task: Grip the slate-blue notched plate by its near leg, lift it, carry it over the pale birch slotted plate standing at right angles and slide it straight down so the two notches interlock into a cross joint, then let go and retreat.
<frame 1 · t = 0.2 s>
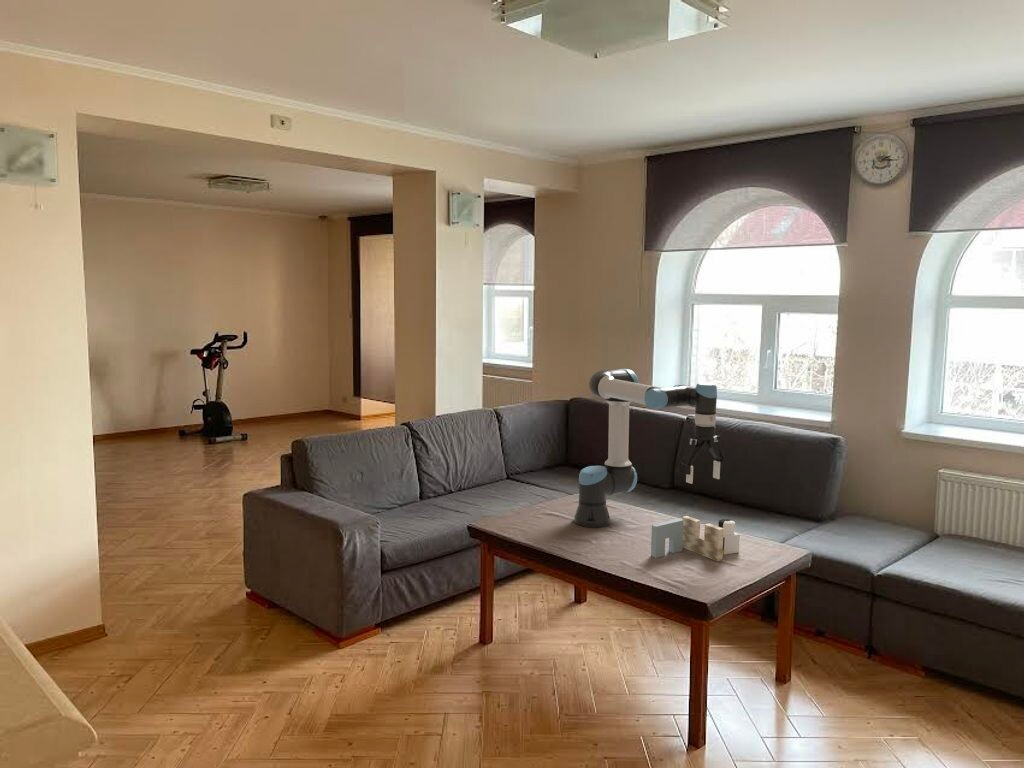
hand: (702, 480, 277), 27 cm above the table, fingers open, 13 cm apart
standing plate: (701, 553, 278), on the table
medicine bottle: (725, 551, 281), on the table
cross plate: (666, 553, 278), on the table
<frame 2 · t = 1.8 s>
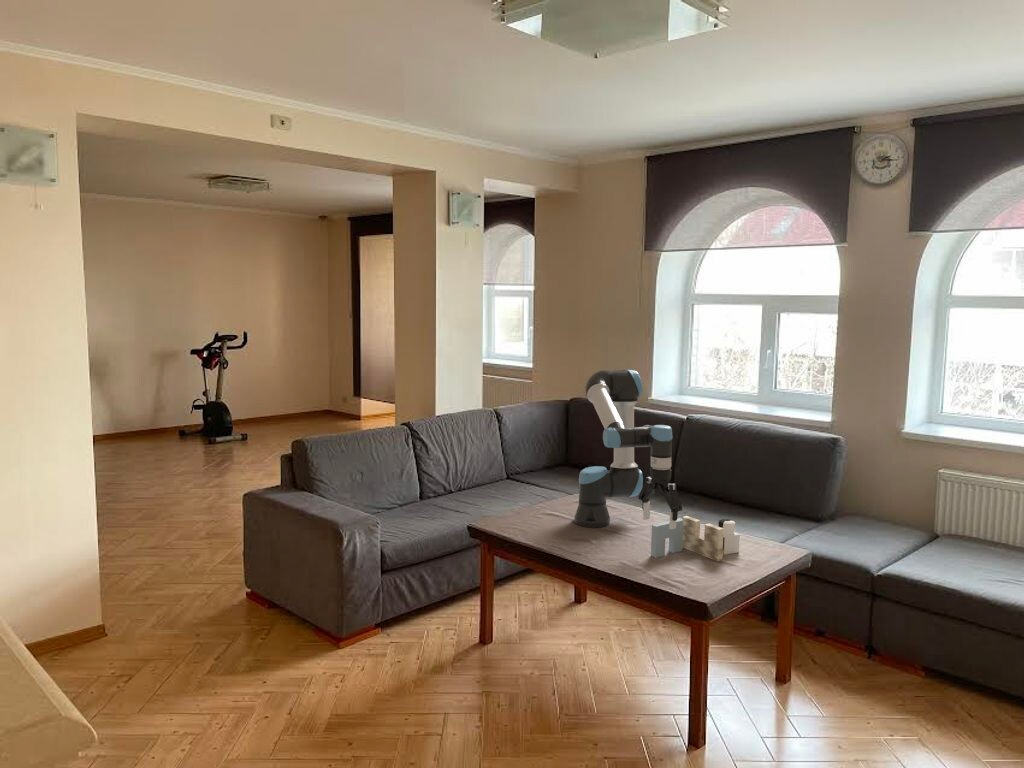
hand: (659, 523, 274), 12 cm above the table, fingers open, 13 cm apart
nothing on the table moved.
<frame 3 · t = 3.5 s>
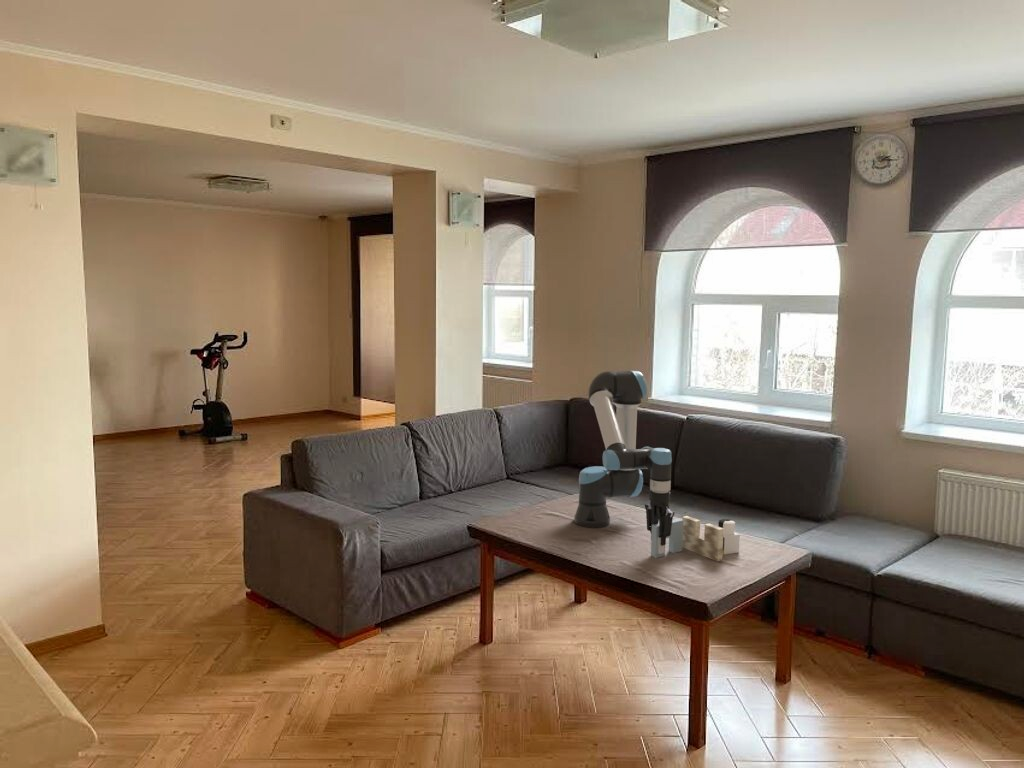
hand: (658, 551, 276), 2 cm above the table, fingers closed on cross plate, 2 cm apart
cross plate: (666, 553, 278), on the table, touching gripper
everything else where it was.
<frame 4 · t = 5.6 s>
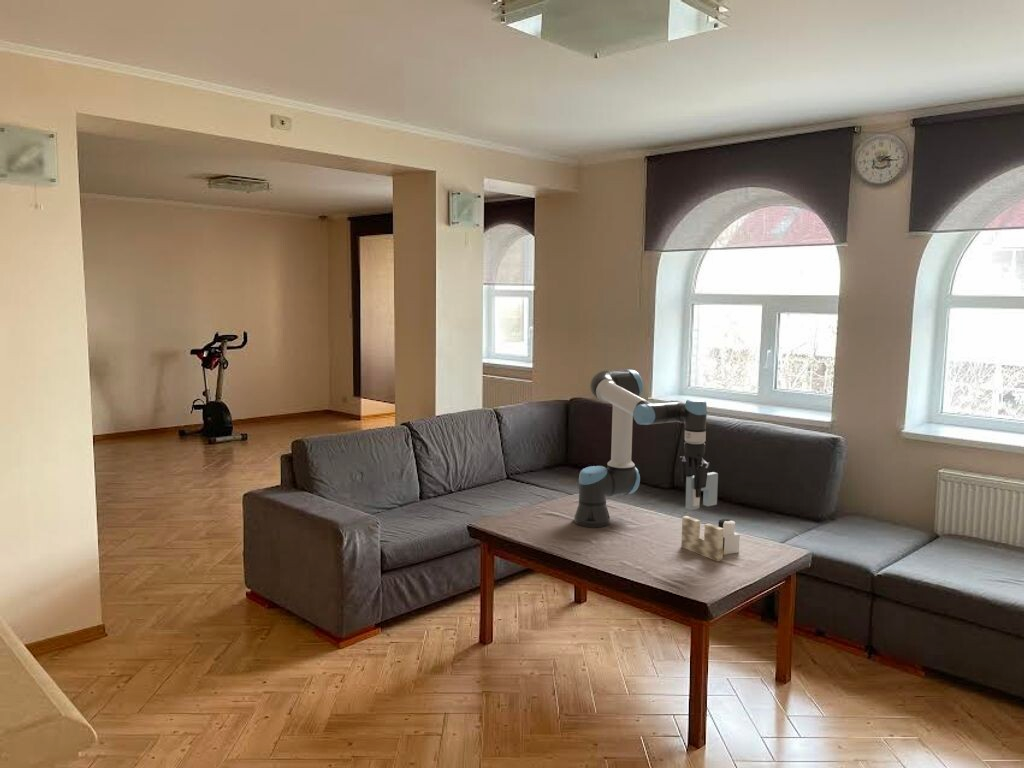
hand: (692, 504, 273), 20 cm above the table, fingers closed on cross plate, 2 cm apart
cross plate: (701, 506, 276), point 18 cm above the table, touching gripper
everything else where it was.
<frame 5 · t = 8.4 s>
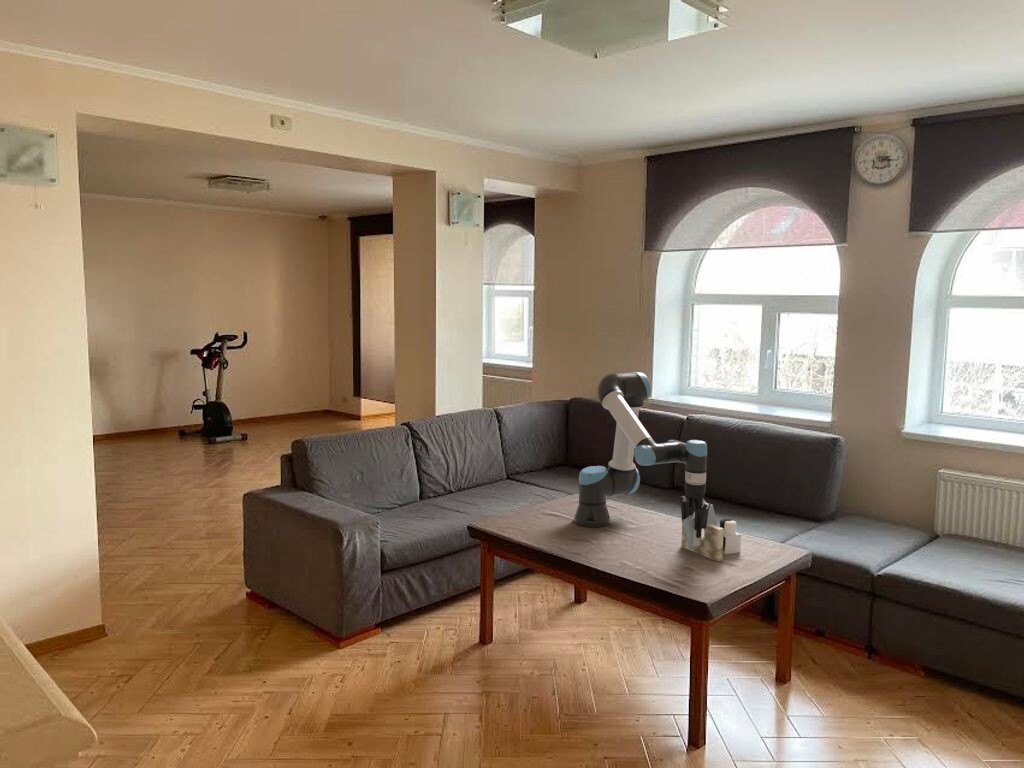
hand: (693, 544, 275), 5 cm above the table, fingers closed on cross plate, 2 cm apart
cross plate: (704, 540, 278), point 5 cm above the table, tilted 19°, touching gripper
everything else where it was.
when the fingers open (3 cm above the table, at t = 9.5 s): cross plate drops 3 cm, on the table.
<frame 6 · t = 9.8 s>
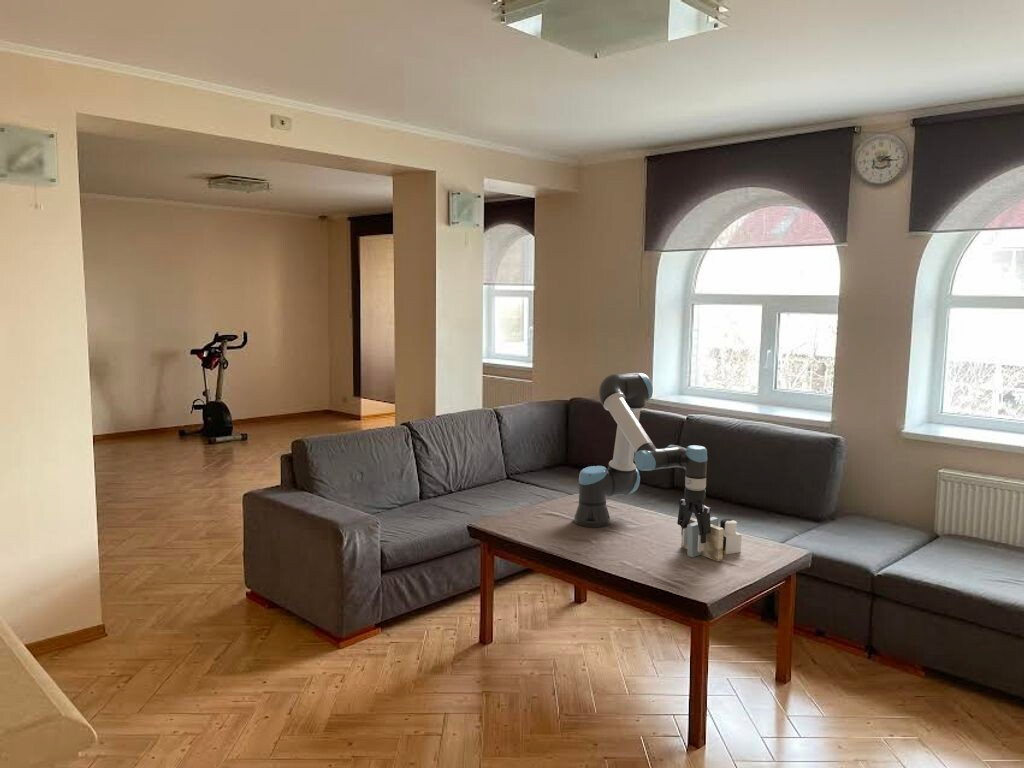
hand: (693, 547, 276), 3 cm above the table, fingers open, 7 cm apart
cross plate: (702, 552, 279), on the table
everything else where it was.
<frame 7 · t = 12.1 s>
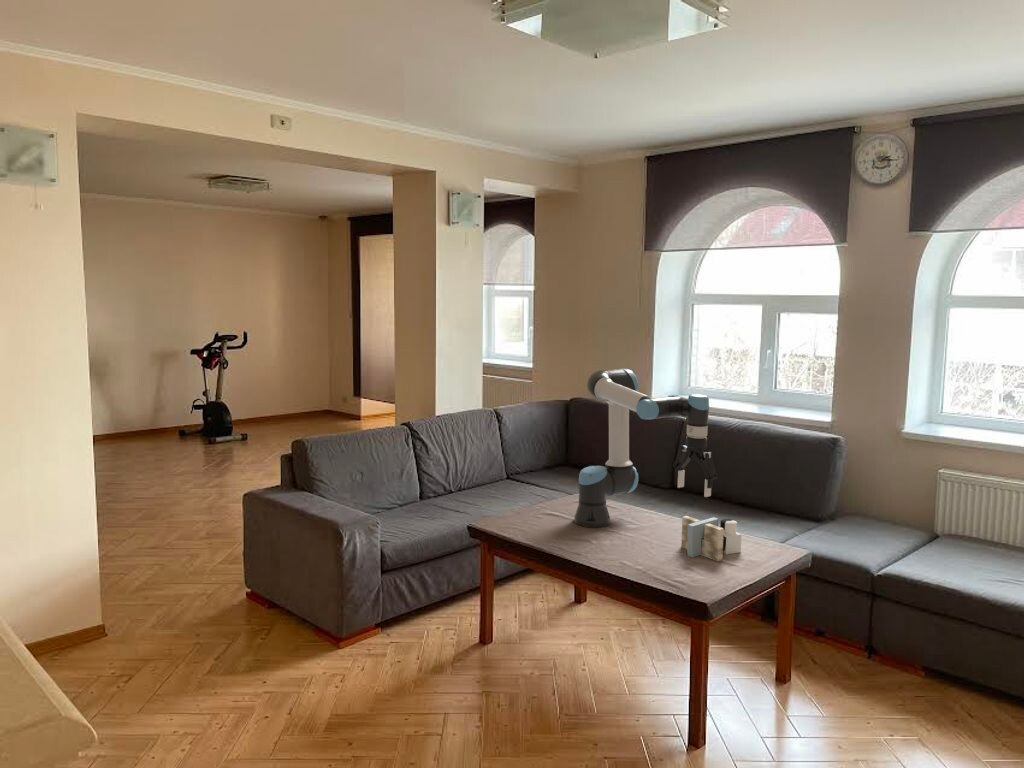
hand: (693, 491, 278), 23 cm above the table, fingers open, 13 cm apart
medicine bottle: (727, 551, 282), on the table, touching cross plate
cross plate: (702, 552, 279), on the table, touching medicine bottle
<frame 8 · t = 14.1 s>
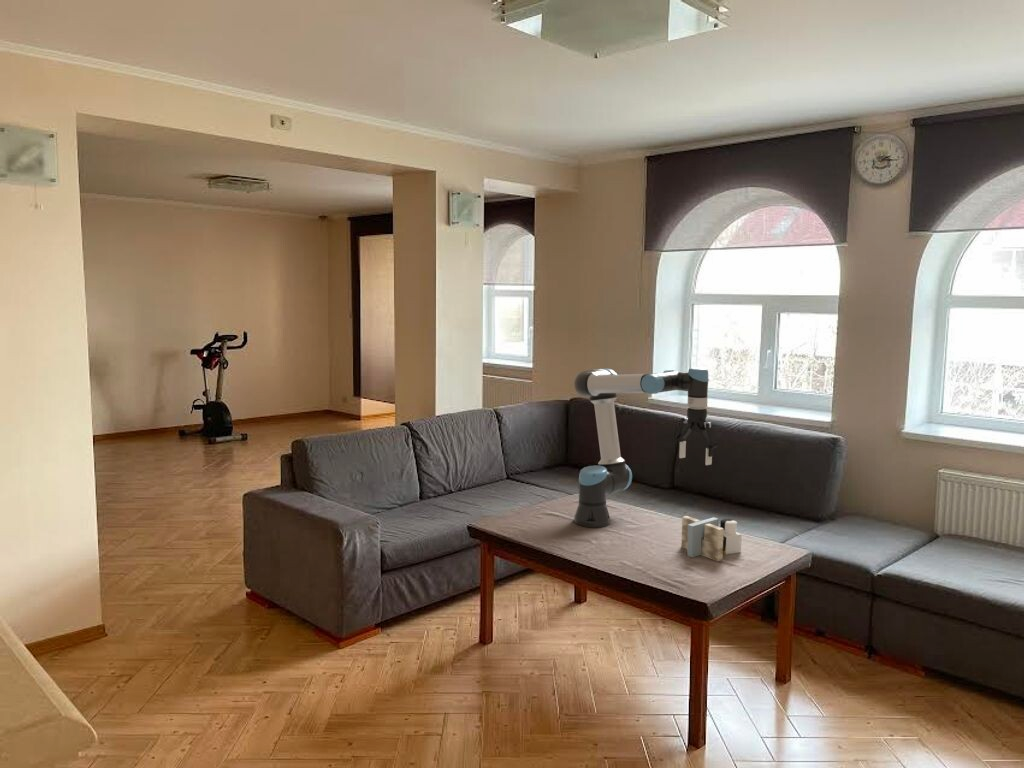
hand: (695, 461, 290), 32 cm above the table, fingers open, 13 cm apart
nothing on the table moved.
at the end: cross plate 0.8 cm off-centre on the standing plate, point 0.2 cm above the standing plate's base; cross plate tilted 2°; the gripper is holding nothing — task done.
